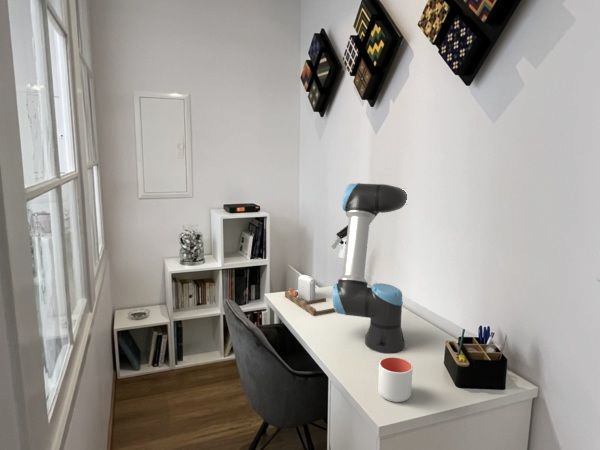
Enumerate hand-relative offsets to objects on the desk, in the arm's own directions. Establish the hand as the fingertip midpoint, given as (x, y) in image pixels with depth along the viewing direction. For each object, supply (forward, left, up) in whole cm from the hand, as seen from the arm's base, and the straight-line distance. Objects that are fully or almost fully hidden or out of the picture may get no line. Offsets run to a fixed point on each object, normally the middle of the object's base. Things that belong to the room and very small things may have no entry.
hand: (339, 250), depth 217 cm
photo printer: (+5, +16, -25) cm, 30 cm away
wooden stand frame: (-2, +16, -25) cm, 30 cm away
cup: (-83, +34, -25) cm, 94 cm away
